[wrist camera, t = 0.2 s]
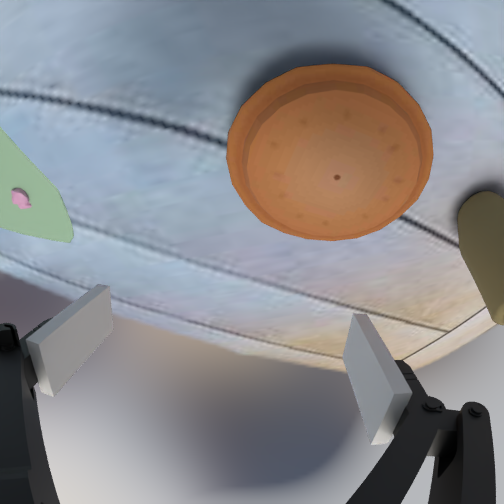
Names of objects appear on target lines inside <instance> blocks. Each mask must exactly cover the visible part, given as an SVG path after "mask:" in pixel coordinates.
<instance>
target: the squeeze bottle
mask: <svg viewBox="0 0 504 504" xmlns="http://www.w3.org/2000/svg"><path fill="white" fill-rule="evenodd" d="M457 222H458V235H459V248H460V251H461V255H462V257H463V259H464V261H465V263H466V265H467V267H468V269H469V271H470V273H471V275H472V277H473V279H474V281H475V283H476V285H477V287H478V289H479V291H480V293H481V295H482V297H483V300H484V302H485V304H486V306H487V309H488V311H489V313H490V316H491V318H492V320H493V321H494V322H495V323H497V324H500V325H504V199H503V198H502V197H501V196H499V195H498V194H496V193H494V192H491V191H483V192H479V193H477V194H475V195H473V196H471V197H470V198H469V199H468V200H467V201H466V202H465V203H464V204H463V205H462V207H461V209H460V210H459V213H458V219H457Z"/></svg>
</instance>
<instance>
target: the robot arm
mask: <svg viewBox="0 0 504 504" xmlns="http://www.w3.org/2000/svg"><path fill="white" fill-rule="evenodd" d="M113 330H114V328H113V319H112V308H111V297H110V286H107V285H101V284H98V285H96V286H95V287H94V288H92V289H91V290H89V291H88V292H87V293H85V294H84V295H83V296H81V297H80V298H79V299H77V300H76V301H75V302H73V303H72V304H71V305H70V306H68V307H67V308H65V309H64V310H63V311H61V312H60V313H59V314H58V315H56V316H55V317H54V318H50V319H48V320H46V321H43V322H42V323H41V324H39V325H38V327H36V328H34V329H33V331H30V332H29V333H28V334H26V335H25V336H24V337H23V338H21V339H20V340H19V337H18V333H17V329H16V326H15V325H13V324H10V323H3V324H0V504H60V502H59V499H58V496H57V493H56V490H55V486H54V483H53V479H52V475H51V472H50V468H49V464H48V460H47V455H46V451H45V446H44V442H43V437H42V431H41V426H40V420H39V413H38V407H37V399H36V392H35V389H34V385H35V384H36V383H37V382H38V383H39V386H40V389H41V392H43V393H45V394H48V395H50V396H53V397H55V395H57V393H58V392H59V391H60V390H61V389H62V387H63V386H64V385H65V384H66V383H67V382H68V381H69V379H70V378H71V377H72V376H73V375H74V373H75V372H76V371H77V370H78V369H79V368H80V366H81V365H82V364H83V363H84V362H85V361H86V360H87V359H88V358H89V356H90V355H91V354H92V353H93V352H94V351H95V350H96V349H97V348H98V346H99V345H100V344H101V343H102V342H103V341H104V340H105V339H106V338H107V336H108V335H109V334H110V333H111V332H112V331H113ZM342 358H343V361H344V364H345V367H346V370H347V372H348V375H349V378H350V381H351V384H352V387H353V390H354V394H355V397H356V400H357V403H358V406H359V409H360V412H361V415H362V418H363V422H364V425H365V428H366V431H367V434H368V438H369V441H370V444H371V445H375V444H386V443H388V442H389V440H390V438H391V436H392V434H394V439H393V440H392V442H391V444H390V445H389V447H388V448H387V449H386V451H385V453H384V454H383V456H382V457H381V458H380V460H379V461H378V463H377V464H376V465H375V467H374V468H373V470H372V471H371V472H370V474H369V475H368V476H367V478H366V479H365V480H364V482H363V483H362V484H361V485H360V487H359V488H358V489H357V490H356V492H355V493H354V494H353V495H352V497H351V498H350V499H349V500H348V502H347V503H346V504H401V502H402V500H403V499H404V497H405V495H406V494H407V492H408V490H409V488H410V486H411V485H412V483H413V481H414V479H415V477H416V475H417V474H418V472H419V469H420V468H421V466H422V464H423V462H424V460H425V458H426V456H435V461H434V469H433V476H432V483H431V489H430V495H429V501H428V504H496V483H495V461H494V451H493V450H494V449H493V439H492V431H491V423H490V416H489V412H488V410H487V409H486V408H485V406H483V405H482V404H480V403H477V402H467V403H465V404H464V405H463V407H462V408H461V410H460V411H456V410H448V409H446V408H445V406H444V404H443V403H442V402H441V401H440V400H438V399H436V398H434V397H430V396H428V395H427V394H426V392H425V390H424V389H423V387H422V385H421V384H420V382H419V380H417V377H416V376H415V374H414V372H413V371H412V369H411V367H410V366H409V365H408V364H406V363H405V362H404V361H403V360H394V359H393V357H392V356H391V354H390V352H389V350H388V349H387V347H386V345H385V344H384V342H383V340H382V339H381V337H380V335H379V334H378V332H377V330H376V329H375V327H374V325H373V324H372V322H371V320H370V319H369V317H368V315H367V314H355V313H353V317H352V321H351V325H350V329H349V333H348V338H347V341H346V345H345V349H344V353H343V357H342Z"/></svg>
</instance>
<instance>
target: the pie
mask: <svg viewBox="0 0 504 504" xmlns="http://www.w3.org/2000/svg"><path fill="white" fill-rule="evenodd" d="M226 160H227V164H228V168H229V173H230V177H231V181H232V185H233V186H234V188H235V189H236V191H237V193H238V194H239V196H240V197H241V199H242V201H243V202H244V204H245V205H246V206H247V207H248V209H249V210H250V211H251V212H252V213H253V214H254V215H255V216H256V217H257V218H258V219H259V220H260V221H261V222H262V223H264V224H266V225H269V226H271V227H273V228H275V229H277V230H279V231H281V232H283V233H287V234H290V235H294V236H298V237H302V238H305V239H313V240H326V241H337V240H345V239H353V238H358V237H361V236H364V235H367V234H369V233H372V232H375V231H378V230H380V229H382V228H383V227H385V226H386V225H388V224H389V223H391V222H392V221H394V220H395V219H397V218H398V217H400V216H401V215H402V214H403V213H404V212H405V211H406V210H407V209H408V208H409V207H410V206H411V205H412V204H414V203H415V202H416V201H417V200H418V198H419V196H420V194H421V192H422V191H423V189H424V187H425V185H426V183H427V181H428V179H429V175H430V171H431V165H432V160H433V143H432V133H431V128H430V126H429V124H428V122H427V120H426V118H425V116H424V114H423V112H422V110H421V108H420V106H419V104H418V103H417V102H416V101H415V100H414V99H413V98H412V97H411V96H410V94H409V93H408V92H407V91H406V90H405V89H404V88H403V87H402V86H401V85H400V84H399V83H398V82H397V81H395V80H393V79H391V78H389V77H387V76H386V75H384V74H382V73H380V72H378V71H376V70H374V69H372V68H370V67H366V66H356V65H344V64H323V65H312V66H303V67H296V68H294V69H292V70H290V71H288V72H286V73H284V74H282V75H280V76H278V77H276V78H274V79H272V80H270V81H268V82H266V83H265V84H264V85H263V86H262V87H261V88H260V89H258V90H257V91H256V92H255V93H254V94H253V95H252V96H251V97H250V98H249V99H248V100H247V101H246V102H245V103H244V104H243V105H242V106H241V108H240V110H239V112H238V114H237V116H236V118H235V120H234V122H233V124H232V126H231V128H230V130H229V132H228V142H227V155H226Z"/></svg>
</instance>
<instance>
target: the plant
mask: <svg viewBox="0 0 504 504" xmlns="http://www.w3.org/2000/svg"><path fill="white" fill-rule="evenodd" d="M0 228H4V229H7V230H10V231H14V232H17V233H20V234H24V235H29V236H34V237H39V238H44V239H49V240H54V241H60V242H67V243H70V242H71V240H72V239H73V236H74V234H73V228H72V224H71V221H70V218H69V215H68V212H67V210H66V207H65V205H64V202H63V200H62V197H61V195H60V193H59V191H58V189H57V188H56V187H55V186H54V185H53V184H52V183H51V182H50V181H49V179H48V178H47V177H46V176H45V175H44V174H43V173H42V172H41V171H40V170H39V169H38V168H37V167H36V166H35V165H34V164H33V163H32V162H31V161H30V160H29V158H28V157H27V156H26V155H25V154H24V153H23V152H22V151H21V150H20V149H19V148H18V147H17V145H16V144H15V143H14V142H13V141H12V140H11V139H10V138H9V136H8V135H7V134H6V133H5V132H4V131H3V130H2V128H1V127H0Z"/></svg>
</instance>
